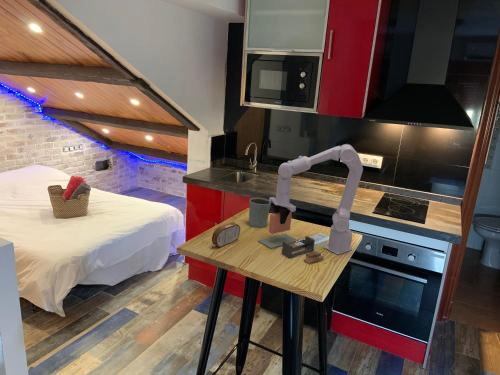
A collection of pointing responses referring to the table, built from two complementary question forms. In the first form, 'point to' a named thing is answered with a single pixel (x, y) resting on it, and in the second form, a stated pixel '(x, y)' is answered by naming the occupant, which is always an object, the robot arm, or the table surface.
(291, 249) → the rack
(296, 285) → the table surface
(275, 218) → the salmon pink rectangular block
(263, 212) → the grey cylindrical pot
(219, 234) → the tin
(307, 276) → the table surface
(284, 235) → the mat
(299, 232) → the table surface
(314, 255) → the offcut stack
